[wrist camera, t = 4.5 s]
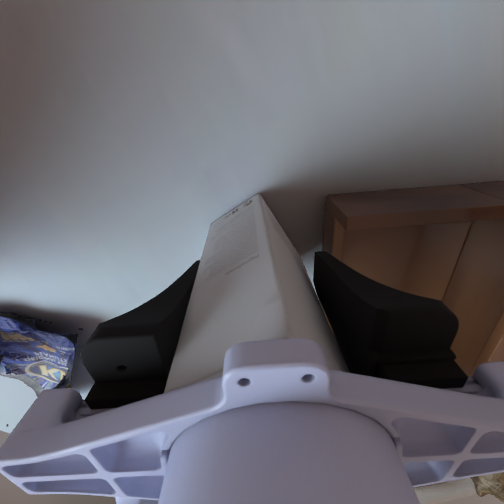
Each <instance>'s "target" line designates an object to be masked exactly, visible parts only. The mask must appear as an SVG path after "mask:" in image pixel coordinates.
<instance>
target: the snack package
mask: <svg viewBox="0 0 504 504" xmlns="http://www.w3.org/2000/svg"><path fill="white" fill-rule="evenodd" d="M40 321H41V320H40ZM45 322H46V321H45ZM34 323H35V321H34V319H32V318H25V317H21V316H16V315H15V313H12V314H8V313H0V375H2V376H6V377H9V378H15V379H19V380H21V381H23V382H24V383H25V384H27V385H28V386H29V387H31V388H32V389H33V390H34V391H35V393H36V395H37V396H39V395H40V393H41V392H42V391H43V390H46V389H62V388H70V386H69V384H70V379H71V374H72V366H73V362H74V357H75V352H76V348H77V338H78V334H58V333H48V332H45V331H41V330H37V328H36V326H35V325H34ZM50 323H51V322H50ZM79 330H83V329H82V328H79ZM7 426H8V424H7Z"/></svg>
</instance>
